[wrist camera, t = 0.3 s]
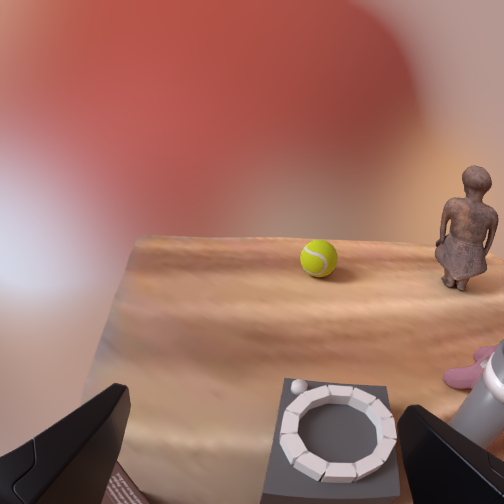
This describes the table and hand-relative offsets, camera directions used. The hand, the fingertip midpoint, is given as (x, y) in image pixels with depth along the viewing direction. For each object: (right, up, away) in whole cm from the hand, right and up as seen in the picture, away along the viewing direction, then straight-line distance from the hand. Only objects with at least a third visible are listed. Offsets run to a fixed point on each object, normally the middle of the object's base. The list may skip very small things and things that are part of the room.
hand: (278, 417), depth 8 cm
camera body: (+6, -13, +13) cm, 19 cm away
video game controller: (+27, -12, +19) cm, 36 cm away
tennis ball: (+11, 0, +46) cm, 47 cm away
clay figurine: (+41, -2, +43) cm, 60 cm away
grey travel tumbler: (+18, -15, +10) cm, 25 cm away
